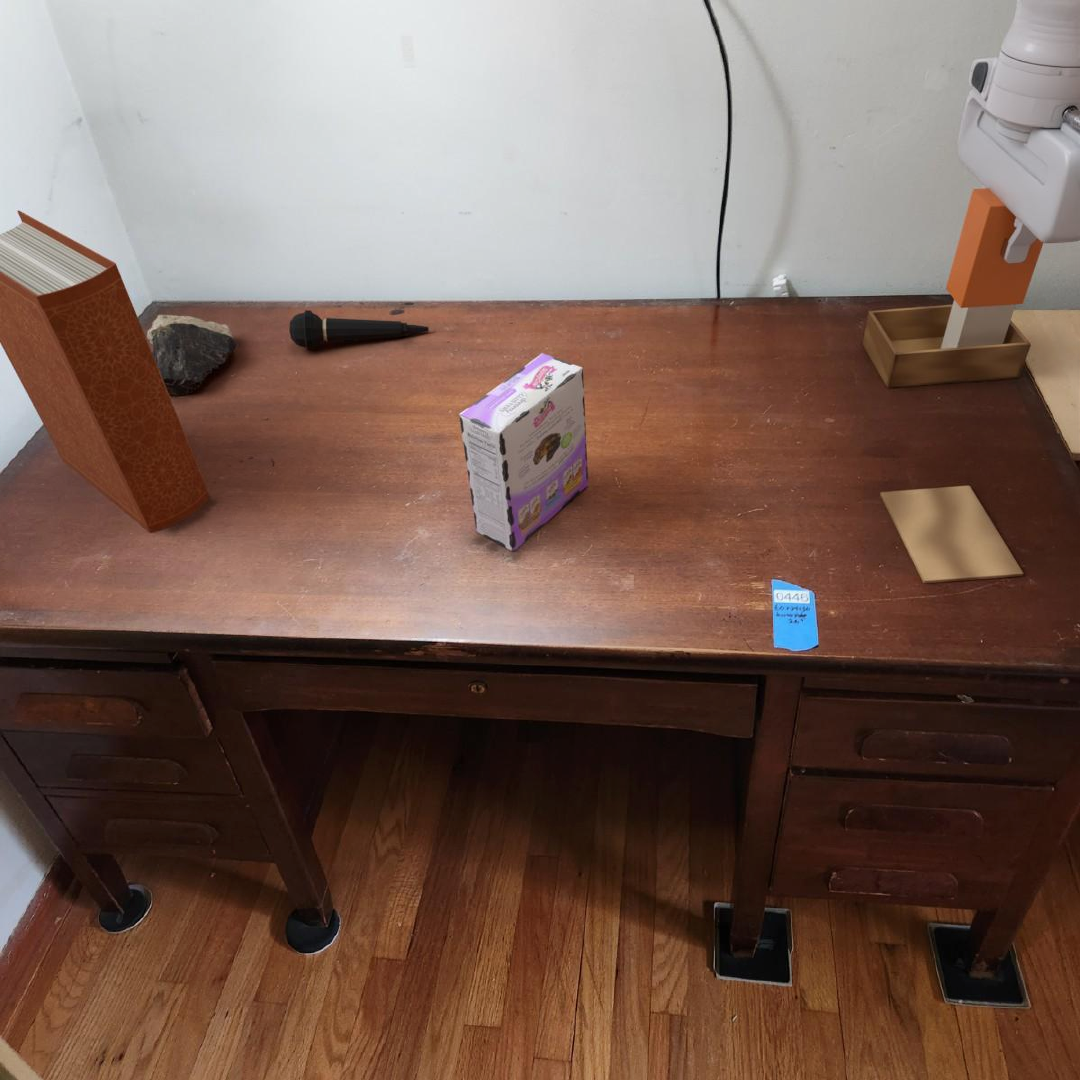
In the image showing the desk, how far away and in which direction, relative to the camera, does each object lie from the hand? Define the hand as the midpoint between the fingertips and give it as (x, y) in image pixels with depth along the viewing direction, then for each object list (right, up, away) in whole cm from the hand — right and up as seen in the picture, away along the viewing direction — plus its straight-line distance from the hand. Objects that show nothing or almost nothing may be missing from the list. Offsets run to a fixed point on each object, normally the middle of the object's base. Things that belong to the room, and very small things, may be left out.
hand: (999, 246), depth 86 cm
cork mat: (0, -27, +12) cm, 29 cm away
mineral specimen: (-92, -3, +46) cm, 103 cm away
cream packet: (+14, -3, +35) cm, 38 cm away
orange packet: (0, -4, +3) cm, 5 cm away
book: (-93, -20, +27) cm, 99 cm away
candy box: (-44, -24, +19) cm, 54 cm away
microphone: (-70, +1, +48) cm, 85 cm away
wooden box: (+10, -4, +36) cm, 37 cm away
